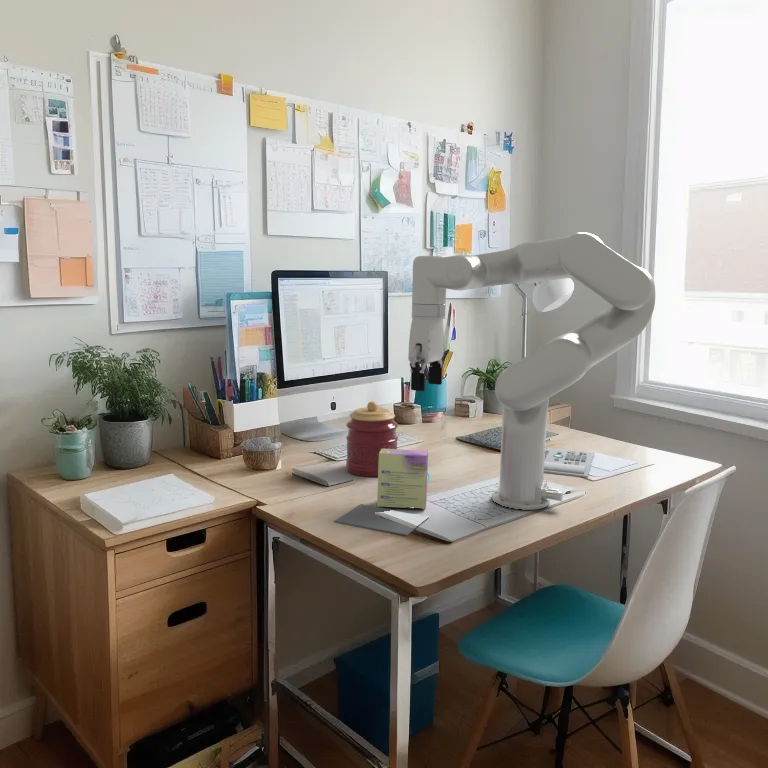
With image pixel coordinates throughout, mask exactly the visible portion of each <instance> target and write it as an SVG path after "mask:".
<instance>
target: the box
mask: <svg viewBox="0 0 768 768" xmlns="http://www.w3.org/2000/svg"><path fill="white" fill-rule="evenodd" d="M428 466H429V450H424V449H423V450H421V449H420V450H419V449H403V448H402V449H399V448H397V449H384V448H382V449H381V451H380V452H379V464H378V476H377V503H376V505H377V506H376V507H381V508H401V509H402V508H403V509H407V508H406V507H414V508H422V509H421V510H426V508H427V507H426V506H427V496H428V495H427V493H428V492H427V491H428V470H429V469H428ZM414 508H413V509H414Z"/></svg>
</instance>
